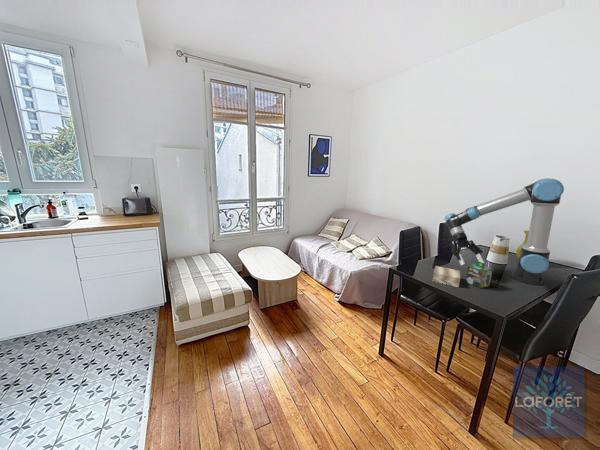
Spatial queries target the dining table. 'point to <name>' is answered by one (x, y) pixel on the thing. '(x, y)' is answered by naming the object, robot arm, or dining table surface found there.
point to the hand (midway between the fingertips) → (472, 264)
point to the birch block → (446, 276)
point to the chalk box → (479, 275)
